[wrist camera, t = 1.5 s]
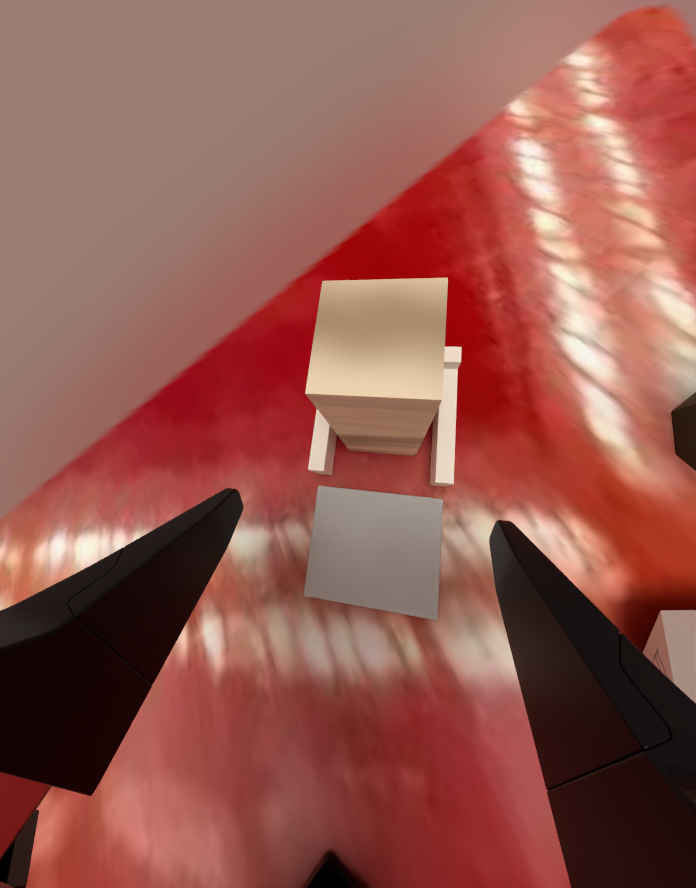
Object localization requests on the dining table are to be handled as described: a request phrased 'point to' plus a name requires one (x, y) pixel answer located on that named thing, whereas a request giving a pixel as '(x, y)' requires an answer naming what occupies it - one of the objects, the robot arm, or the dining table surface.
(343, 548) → the grey pad
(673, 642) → the die
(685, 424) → the wine bottle
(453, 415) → the white angular bracket
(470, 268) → the dining table surface
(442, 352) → the birch block
